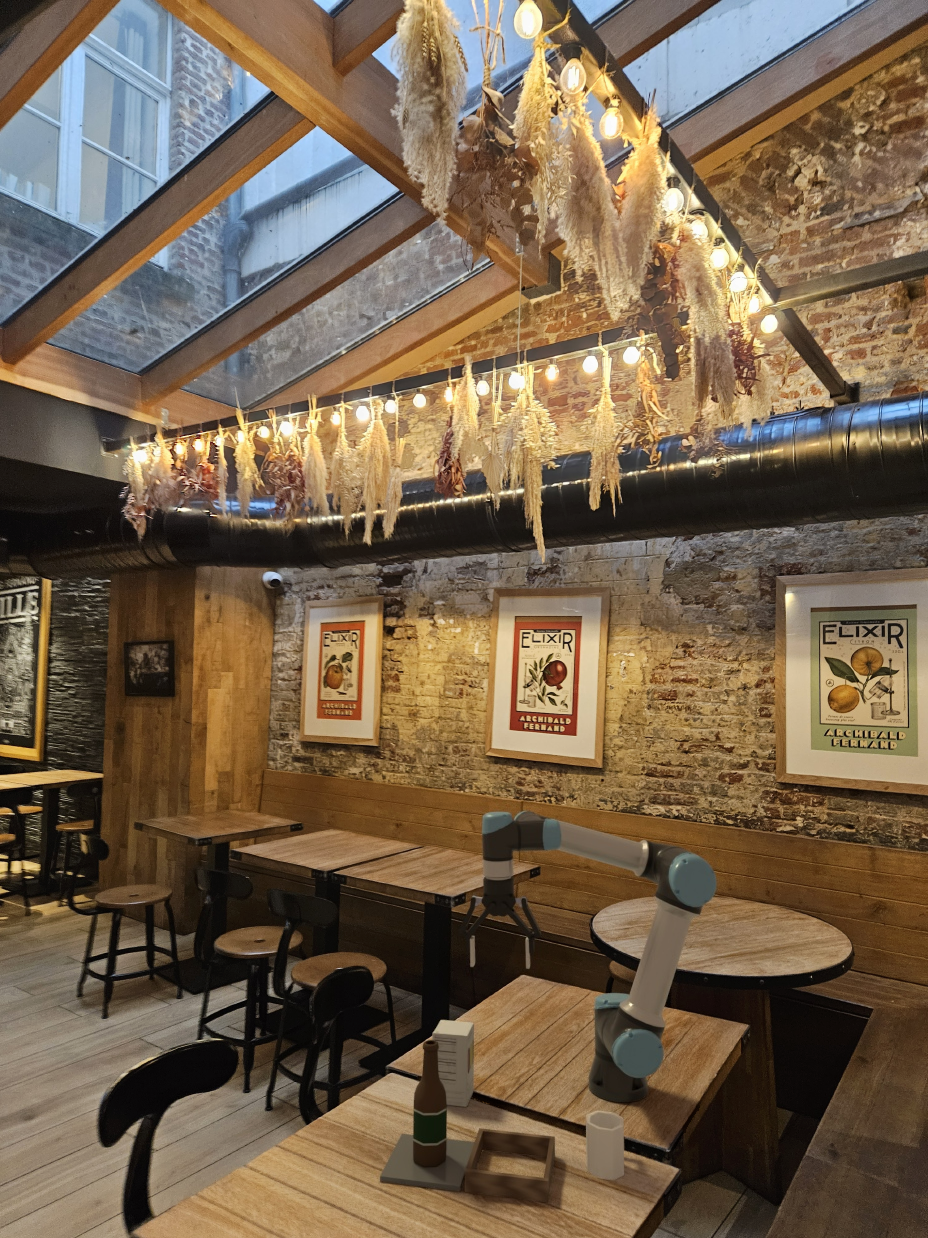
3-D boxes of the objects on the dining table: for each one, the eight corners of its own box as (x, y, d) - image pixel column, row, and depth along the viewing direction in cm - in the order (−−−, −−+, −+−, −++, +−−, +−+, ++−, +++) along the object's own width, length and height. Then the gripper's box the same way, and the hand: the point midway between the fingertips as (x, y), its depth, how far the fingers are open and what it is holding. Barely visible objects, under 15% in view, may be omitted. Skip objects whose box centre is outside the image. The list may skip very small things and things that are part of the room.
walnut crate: (554, 1156, 177) (554, 1136, 178) (548, 1202, 161) (548, 1181, 161) (479, 1147, 181) (479, 1128, 181) (464, 1192, 164) (464, 1171, 164)
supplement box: (467, 1108, 198) (467, 1036, 200) (430, 1104, 200) (431, 1033, 202) (474, 1090, 207) (474, 1021, 209) (439, 1086, 209) (440, 1018, 211)
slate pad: (474, 1146, 181) (474, 1142, 181) (459, 1191, 164) (459, 1186, 164) (401, 1138, 184) (401, 1133, 184) (379, 1181, 167) (380, 1176, 167)
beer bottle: (420, 1172, 169) (421, 1052, 171) (406, 1153, 176) (407, 1039, 178) (453, 1163, 172) (454, 1046, 175) (438, 1145, 179) (439, 1032, 182)
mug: (617, 1185, 167) (616, 1134, 168) (578, 1171, 171) (578, 1123, 172) (637, 1157, 177) (636, 1110, 178) (600, 1146, 182) (600, 1100, 183)
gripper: (549, 874, 200) (552, 962, 198) (451, 872, 204) (452, 959, 202) (548, 880, 193) (550, 973, 190) (445, 879, 196) (447, 969, 194)
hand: (500, 966), depth 196 cm, fingers open, 13 cm apart
